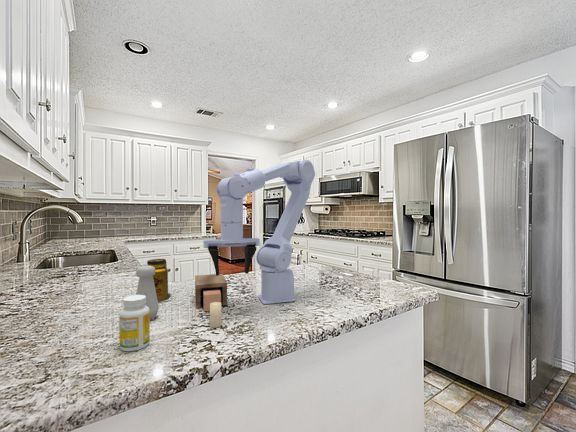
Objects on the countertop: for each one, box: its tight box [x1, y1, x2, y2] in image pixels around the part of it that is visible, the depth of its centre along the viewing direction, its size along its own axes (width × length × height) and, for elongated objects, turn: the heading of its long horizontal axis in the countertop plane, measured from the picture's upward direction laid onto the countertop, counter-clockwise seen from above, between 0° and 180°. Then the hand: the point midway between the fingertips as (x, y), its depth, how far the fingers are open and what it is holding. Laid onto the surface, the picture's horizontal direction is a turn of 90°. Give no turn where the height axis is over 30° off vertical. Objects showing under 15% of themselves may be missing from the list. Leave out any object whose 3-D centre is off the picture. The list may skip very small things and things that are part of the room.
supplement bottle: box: [118, 294, 151, 352], centre depth 58 cm, size 5×5×10 cm
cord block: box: [202, 289, 223, 329], centre depth 74 cm, size 4×16×5 cm, turn 18°
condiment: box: [146, 258, 172, 303], centre depth 89 cm, size 7×8×12 cm
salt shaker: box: [135, 265, 160, 321], centre depth 72 cm, size 6×6×13 cm
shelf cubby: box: [194, 273, 228, 309], centre depth 87 cm, size 8×12×6 cm
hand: (232, 273), depth 78 cm, fingers open, 7 cm apart
